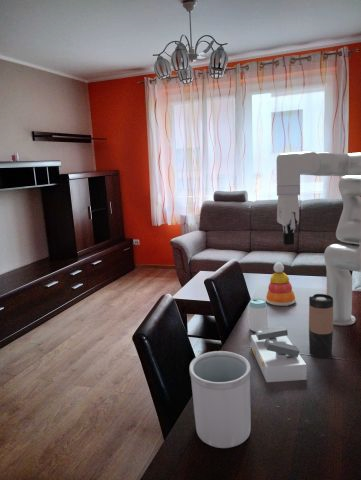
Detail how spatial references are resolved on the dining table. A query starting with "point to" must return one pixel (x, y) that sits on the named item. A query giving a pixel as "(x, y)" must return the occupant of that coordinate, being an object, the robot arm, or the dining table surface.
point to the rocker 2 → (281, 348)
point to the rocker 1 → (271, 332)
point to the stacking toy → (280, 288)
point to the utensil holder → (221, 398)
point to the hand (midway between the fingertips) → (288, 244)
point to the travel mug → (320, 325)
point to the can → (257, 314)
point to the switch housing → (278, 361)
